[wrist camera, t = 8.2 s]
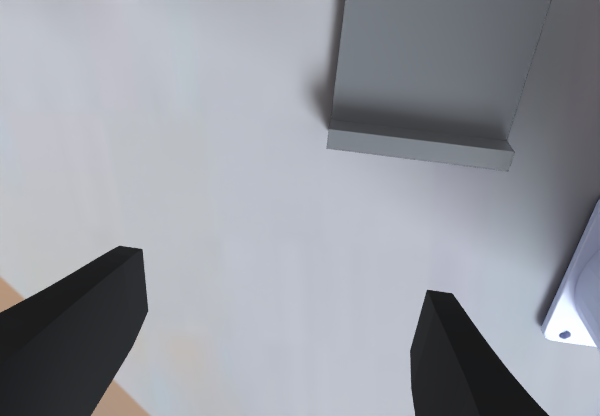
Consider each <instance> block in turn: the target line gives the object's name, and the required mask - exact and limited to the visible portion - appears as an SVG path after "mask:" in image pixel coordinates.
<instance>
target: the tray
mask: <svg viewBox="0 0 600 416" xmlns="http://www.w3.org/2000/svg"><path fill="white" fill-rule="evenodd" d="M550 3H551V0H345V7H344V15H343V23H342V31H341V40H340V48H339V56H338V64H337V73H336V81H335V89H334V97H333V106H332V114H331V121H330V126H329V132H328V140H327V148H326V149H334V150H342V151H350V152H358V153H366V154H374V155H382V156H390V157H398V158H406V159H414V160H422V161H430V162H438V163H446V164H453V165H461V166H469V167H477V168H485V169H493V170H501V171H509V169H510V165H511V162H512V159H513V156H514V153H515V151H514V150H513V149H512V147H511V146H510V145H509V143H508V142H507V138H508V135H509V132H510V129H511V125H512V122H513V119H514V116H515V113H516V110H517V106H518V103H519V100H520V97H521V94H522V91H523V88H524V84H525V81H526V78H527V75H528V72H529V69H530V66H531V62H532V59H533V56H534V53H535V50H536V47H537V44H538V40H539V37H540V34H541V31H542V28H543V25H544V21H545V18H546V15H547V12H548V9H549V6H550Z"/></svg>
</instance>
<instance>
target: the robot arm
mask: <svg viewBox="0 0 600 416" xmlns="http://www.w3.org/2000/svg"><path fill="white" fill-rule="evenodd" d="M147 312H148V304H147V293H146V282H145V272H144V261H143V251H142V249H138V248H131V247H124V246H118V247H116V248H114V249H112V250H111V251H109V252H107V253H105V254H104V255H102V256H100V257H99V258H97V259H95V260H94V261H92V262H90V263H89V264H87V265H85V266H84V267H82V268H80V269H79V270H77V271H75V272H73V273H72V274H70V275H68V276H67V277H65V278H63V279H61V280H60V281H58V282H56V283H55V284H53V285H51V286H49V287H48V288H46V289H44V290H42V291H40V292H38V293H37V294H35V295H33V296H31V297H29V298H27V299H25V300H24V301H22V302H20V303H18V304H16V305H14V306H12V307H11V308H9V309H7V310H5V311H3V312H1V313H0V416H91V414H92V413H93V411H94V409H95V408H96V406H97V404H98V403H99V401H100V400H101V398H102V396H103V395H104V393H105V391H106V390H107V388H108V386H109V385H110V383H111V382H112V380H113V378H114V377H115V375H116V373H117V372H118V370H119V368H120V367H121V365H122V363H123V362H124V360H125V358H126V357H127V355H128V353H129V352H130V350H131V348H132V346H133V344H134V342H135V340H136V338H137V336H138V333H139V331H140V329H141V327H142V324H143V322H144V320H145V317H146V315H147ZM541 331H542V333H543V335H544V337H545V338H546V339H548V340H553V341H559V342H566V343H573V344H580V345H587V346H593V347H597V348H598V350H599V352H600V199H599V201H598V202H597V204H596V206H595V209H594V211H593V213H592V215H591V218H590V220H589V222H588V224H587V226H586V229H585V231H584V233H583V235H582V238H581V240H580V242H579V244H578V247H577V249H576V251H575V253H574V255H573V258H572V260H571V262H570V264H569V267H568V269H567V271H566V273H565V276H564V278H563V280H562V282H561V285H560V287H559V289H558V291H557V293H556V296H555V298H554V300H553V302H552V305H551V307H550V309H549V311H548V314H547V316H546V318H545V320H544V322H543V325H542V327H541ZM563 331H566V332H564V333H561V332H563ZM410 357H411V389H412V396H413V403H414V409H415V416H549V415H548V414H547V413H546V412H545V411H544V410H543V409H542V408H541V407H540V406H539V405H538V404H537V403H536V401H535V400H534V399H533V398H532V397H531V396H530V395H529V394H528V393H527V391H526V390H525V389H524V388H523V387H522V386H521V384H520V383H519V382H518V381H517V380H516V379H515V377H514V376H513V375H512V374H511V373H510V371H509V370H508V369H507V368H506V366H505V365H504V364H503V363H502V361H501V360H500V359H499V357H498V356H497V355H496V353H495V352H494V351H493V350H492V348H491V347H490V346H489V344H488V343H487V342H486V340H485V339H484V337H483V336H482V335H481V333H480V332H479V331H478V329H477V328H476V326H475V325H474V324H473V322H472V321H471V319H470V318H469V316H468V315H467V314H466V312H465V311H464V309H463V308H462V306H461V305H460V303H459V302H458V301H457V299H456V298H455V297H454V295H453V294H452V293H446V292H439V291H432V290H427V292H426V295H425V299H424V303H423V306H422V310H421V314H420V317H419V321H418V325H417V328H416V332H415V335H414V339H413V343H412V346H411V350H410Z"/></svg>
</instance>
